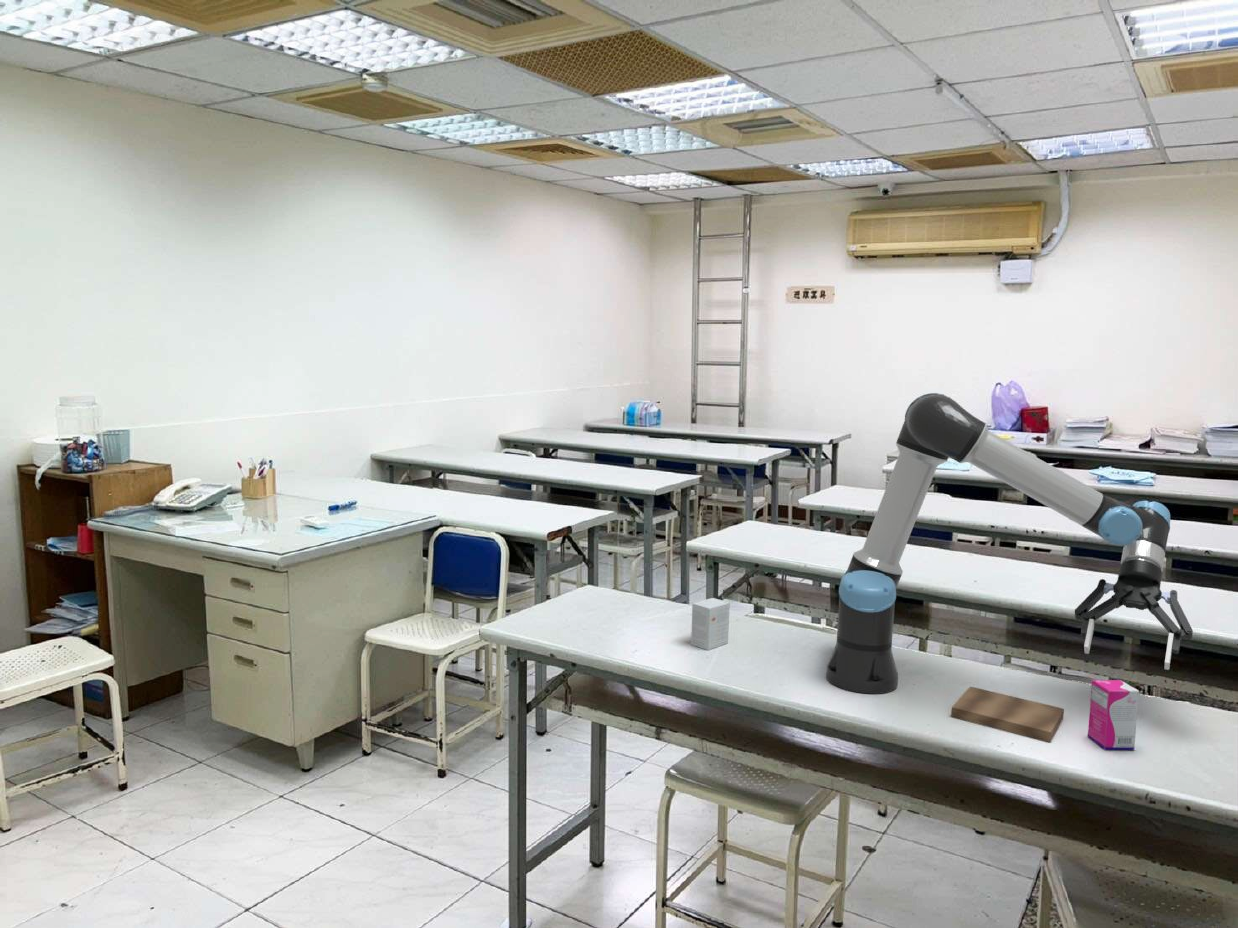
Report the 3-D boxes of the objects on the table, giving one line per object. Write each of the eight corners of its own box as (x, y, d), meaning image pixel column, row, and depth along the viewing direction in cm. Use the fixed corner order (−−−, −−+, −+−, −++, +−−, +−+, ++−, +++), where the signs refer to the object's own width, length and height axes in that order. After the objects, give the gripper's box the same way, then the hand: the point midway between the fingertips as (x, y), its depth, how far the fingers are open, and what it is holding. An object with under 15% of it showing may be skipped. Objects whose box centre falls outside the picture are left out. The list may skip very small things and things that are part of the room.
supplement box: (1115, 736, 164) (1121, 679, 163) (1134, 750, 158) (1141, 691, 157) (1085, 736, 164) (1091, 678, 162) (1104, 750, 158) (1110, 690, 157)
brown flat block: (950, 716, 171) (951, 707, 171) (969, 695, 182) (970, 686, 182) (1050, 742, 161) (1051, 732, 160) (1063, 718, 172) (1064, 708, 172)
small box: (711, 637, 215) (712, 597, 214) (728, 643, 211) (730, 602, 210) (690, 644, 210) (691, 603, 208) (707, 650, 206) (709, 608, 204)
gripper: (1213, 588, 172) (1201, 682, 162) (1074, 568, 187) (1056, 653, 177) (1215, 568, 168) (1203, 663, 157) (1072, 548, 182) (1053, 634, 172)
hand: (1125, 658), depth 167 cm, fingers open, 13 cm apart
